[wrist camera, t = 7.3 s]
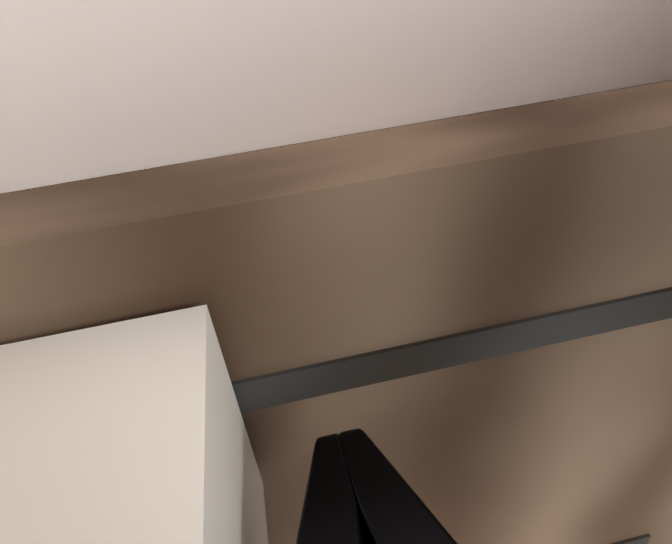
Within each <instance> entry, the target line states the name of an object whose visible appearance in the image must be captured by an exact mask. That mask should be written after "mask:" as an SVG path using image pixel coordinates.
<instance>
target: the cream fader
mask: <svg viewBox="0 0 672 544" xmlns="http://www.w3.org/2000/svg"><path fill="white" fill-rule="evenodd" d="M0 544H268V533H267V522H266V511H265V500H264V489H263V482H262V479H261V475H260V472H259V469H258V466H257V463H256V460H255V456H254V453H253V450H252V447H251V444H250V441H249V437H248V434H247V431H246V428H245V425H244V422H243V418H242V415H241V412H240V409H239V406H238V402H237V399H236V396H235V393H234V390H233V387H232V383H231V380H230V377H229V374H228V371H227V368H226V364H225V361H224V358H223V355H222V352H221V349H220V345H219V342H218V339H217V336H216V333H215V329H214V326H213V323H212V320H211V317H210V314H209V310H208V307H207V304H206V305H201V306H196V307H191V308H186V309H181V310H176V311H171V312H166V313H161V314H156V315H151V316H146V317H141V318H136V319H131V320H126V321H121V322H116V323H111V324H106V325H101V326H96V327H90V328H85V329H80V330H75V331H70V332H65V333H60V334H55V335H50V336H45V337H40V338H35V339H30V340H25V341H20V342H15V343H10V344H5V345H0Z"/></svg>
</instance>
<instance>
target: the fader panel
mask: <svg viewBox="0 0 672 544" xmlns="http://www.w3.org/2000/svg"><path fill="white" fill-rule="evenodd" d="M206 304H207V307H208V310H209V314H210V317H211V320H212V323H213V326H214V329H215V333H216V336H217V339H218V342H219V345H220V349H221V352H222V355H223V358H224V361H225V364H226V368H227V371H228V374H229V377H230V380H231V383H232V387H233V390H234V393H235V396H236V399H237V402H238V406H239V409H240V412H241V415H242V418H243V422H244V425H245V428H246V431H247V434H248V437H249V441H250V444H251V447H252V450H253V453H254V456H255V460H256V463H257V466H258V469H259V472H260V475H261V479H262V482H263V489H264V500H265V511H266V522H267V533H268V544H296V539H297V533H298V528H299V523H300V518H301V513H302V508H303V503H304V497H305V492H306V487H307V482H308V477H309V472H310V466H311V461H312V456H313V451H314V446H315V442H316V440H317V438H319V437H322V436H327V435H331V434H340V433H341V432H344V431H348V430H352V429H357V428H360V429H362V430H363V431H364V432H365V433H366V434H367V435H368V436H369V438H370V439H371V440H372V441H373V442H374V444H375V445H376V446H377V447H378V448H379V450H380V451H381V452H382V453H383V454H384V456H385V457H386V458H387V459H388V460H389V462H390V463H391V464H392V465H393V466H394V468H395V469H396V470H397V471H398V472H399V474H400V475H401V476H402V477H403V478H404V480H405V481H406V482H407V483H408V484H409V486H410V487H411V488H412V489H413V490H414V492H415V493H416V494H417V495H418V496H419V498H420V499H421V500H422V501H423V502H424V504H425V505H426V506H427V507H428V508H429V510H430V511H431V512H432V513H433V514H434V516H435V517H436V518H437V519H438V520H439V522H440V523H441V524H442V525H443V526H444V528H445V529H446V530H447V531H448V532H449V534H450V535H451V536H452V537H453V538H454V540H455V541H456V542H457V543H458V544H672V80H669V81H663V82H658V83H652V84H646V85H640V86H634V87H628V88H622V89H616V90H610V91H604V92H599V93H593V94H587V95H581V96H575V97H569V98H563V99H557V100H551V101H546V102H540V103H534V104H528V105H522V106H516V107H510V108H504V109H498V110H493V111H487V112H481V113H475V114H469V115H463V116H457V117H451V118H445V119H439V120H434V121H428V122H422V123H416V124H410V125H404V126H398V127H392V128H386V129H381V130H375V131H369V132H363V133H357V134H351V135H345V136H339V137H333V138H328V139H322V140H316V141H310V142H304V143H298V144H292V145H286V146H280V147H274V148H269V149H263V150H257V151H251V152H245V153H239V154H233V155H227V156H221V157H216V158H210V159H204V160H198V161H192V162H186V163H180V164H174V165H168V166H162V167H157V168H151V169H145V170H139V171H133V172H127V173H121V174H115V175H109V176H104V177H98V178H92V179H86V180H80V181H74V182H68V183H62V184H56V185H51V186H45V187H39V188H33V189H27V190H21V191H15V192H9V193H3V194H0V345H5V344H10V343H15V342H20V341H25V340H30V339H35V338H40V337H45V336H50V335H55V334H60V333H65V332H70V331H75V330H80V329H85V328H90V327H96V326H101V325H106V324H111V323H116V322H121V321H126V320H131V319H136V318H141V317H146V316H151V315H156V314H161V313H166V312H171V311H176V310H181V309H186V308H191V307H196V306H201V305H206Z"/></svg>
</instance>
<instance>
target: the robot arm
mask: <svg viewBox="0 0 672 544" xmlns="http://www.w3.org/2000/svg"><path fill="white" fill-rule="evenodd" d="M296 544H458V543H457V542H456V541H455V540H454V538H453V537H452V536H451V535H450V534H449V532H448V531H447V530H446V529H445V528H444V526H443V525H442V524H441V523H440V522H439V520H438V519H437V518H436V517H435V516H434V514H433V513H432V512H431V511H430V510H429V508H428V507H427V506H426V505H425V504H424V502H423V501H422V500H421V499H420V498H419V496H418V495H417V494H416V493H415V492H414V490H413V489H412V488H411V487H410V486H409V484H408V483H407V482H406V481H405V480H404V478H403V477H402V476H401V475H400V474H399V472H398V471H397V470H396V469H395V468H394V466H393V465H392V464H391V463H390V462H389V460H388V459H387V458H386V457H385V456H384V454H383V453H382V452H381V451H380V450H379V448H378V447H377V446H376V445H375V444H374V442H373V441H372V440H371V439H370V438H369V436H368V435H367V434H366V433H365V432H364V431H363V430H362V429H360V428H357V429H352V430H348V431H344V432H341V433H340V434H331V435H327V436H322V437H319V438H317V440H316V442H315V446H314V451H313V456H312V461H311V466H310V472H309V477H308V482H307V487H306V492H305V497H304V503H303V508H302V513H301V518H300V523H299V528H298V533H297V539H296Z"/></svg>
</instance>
